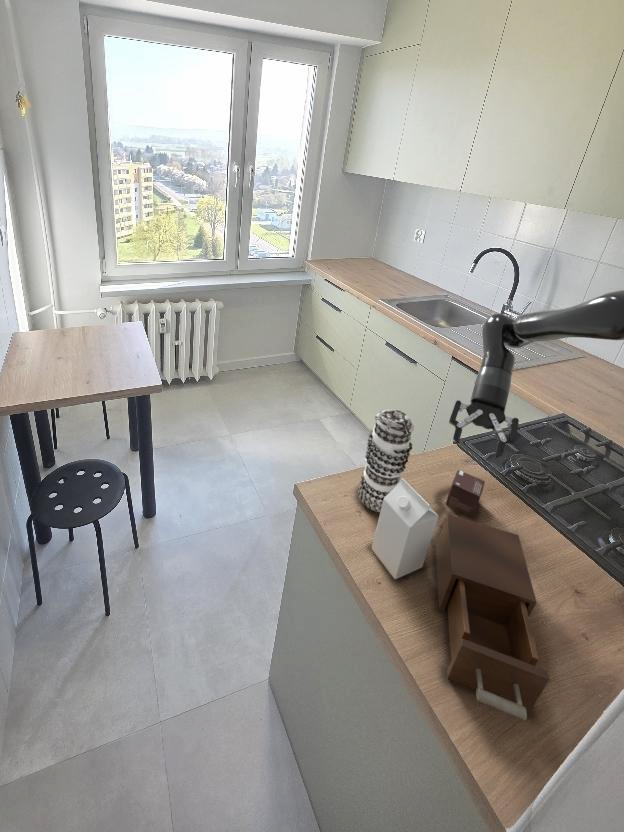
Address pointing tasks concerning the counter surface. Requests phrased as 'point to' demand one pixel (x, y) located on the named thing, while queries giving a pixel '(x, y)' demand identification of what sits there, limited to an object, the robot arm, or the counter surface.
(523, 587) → the cabinet
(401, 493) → the milk carton
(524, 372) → the counter surface
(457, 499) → the box
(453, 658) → the drawer
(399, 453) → the decorative candle
